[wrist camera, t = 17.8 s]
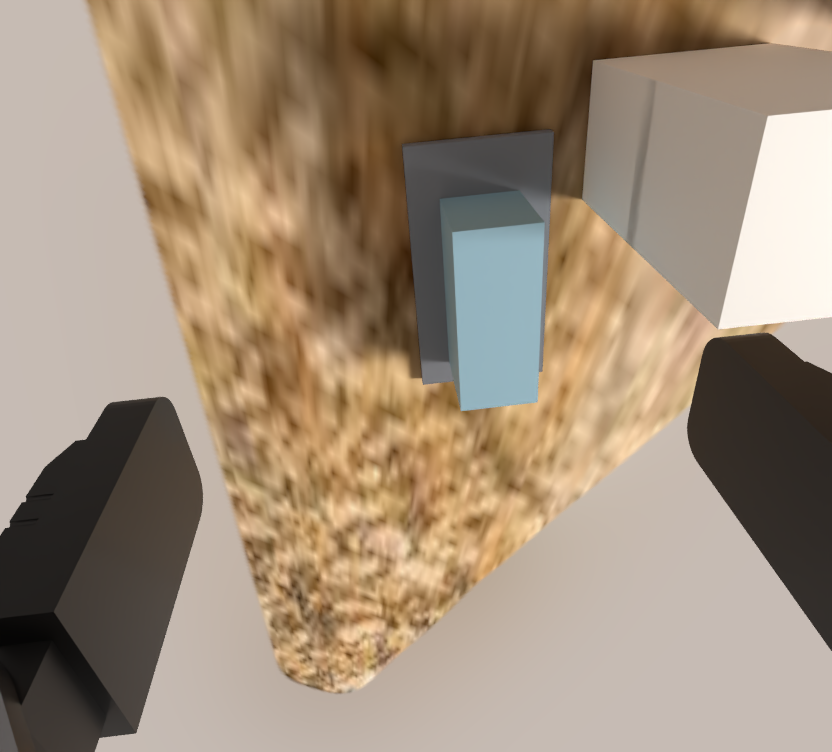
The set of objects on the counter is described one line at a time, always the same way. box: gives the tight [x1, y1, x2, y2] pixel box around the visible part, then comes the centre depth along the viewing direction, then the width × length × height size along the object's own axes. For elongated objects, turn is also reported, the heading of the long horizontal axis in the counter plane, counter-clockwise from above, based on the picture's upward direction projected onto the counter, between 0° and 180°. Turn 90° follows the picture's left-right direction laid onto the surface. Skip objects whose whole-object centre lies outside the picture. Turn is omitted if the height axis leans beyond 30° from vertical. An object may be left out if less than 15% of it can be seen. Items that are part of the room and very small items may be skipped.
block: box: [440, 190, 545, 411], centre depth 38 cm, size 12×5×6 cm, turn 5°
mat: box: [402, 129, 554, 385], centre depth 40 cm, size 17×9×1 cm, turn 4°
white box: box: [582, 43, 832, 329], centre depth 29 cm, size 8×10×17 cm
